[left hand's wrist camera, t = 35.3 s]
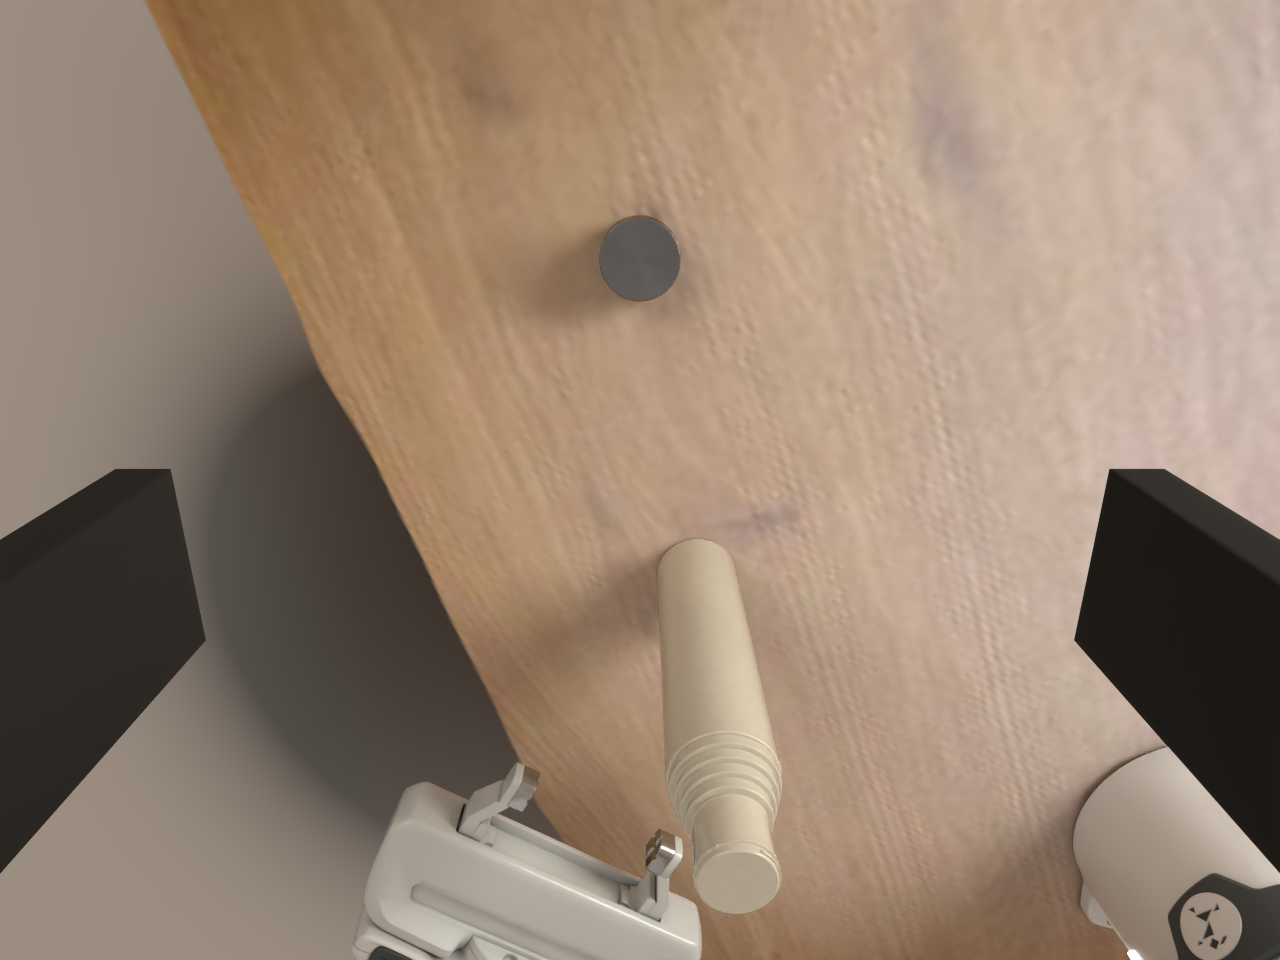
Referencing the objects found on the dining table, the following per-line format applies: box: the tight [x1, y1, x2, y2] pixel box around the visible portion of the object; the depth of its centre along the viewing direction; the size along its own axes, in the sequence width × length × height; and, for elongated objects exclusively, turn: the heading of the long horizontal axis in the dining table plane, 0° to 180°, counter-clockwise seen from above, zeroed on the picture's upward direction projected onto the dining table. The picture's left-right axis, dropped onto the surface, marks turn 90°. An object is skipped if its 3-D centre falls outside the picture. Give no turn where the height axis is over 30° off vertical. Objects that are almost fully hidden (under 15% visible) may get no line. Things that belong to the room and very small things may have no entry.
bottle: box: [657, 539, 782, 914], centre depth 43 cm, size 5×5×24 cm
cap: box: [600, 215, 681, 301], centre depth 46 cm, size 4×4×2 cm
